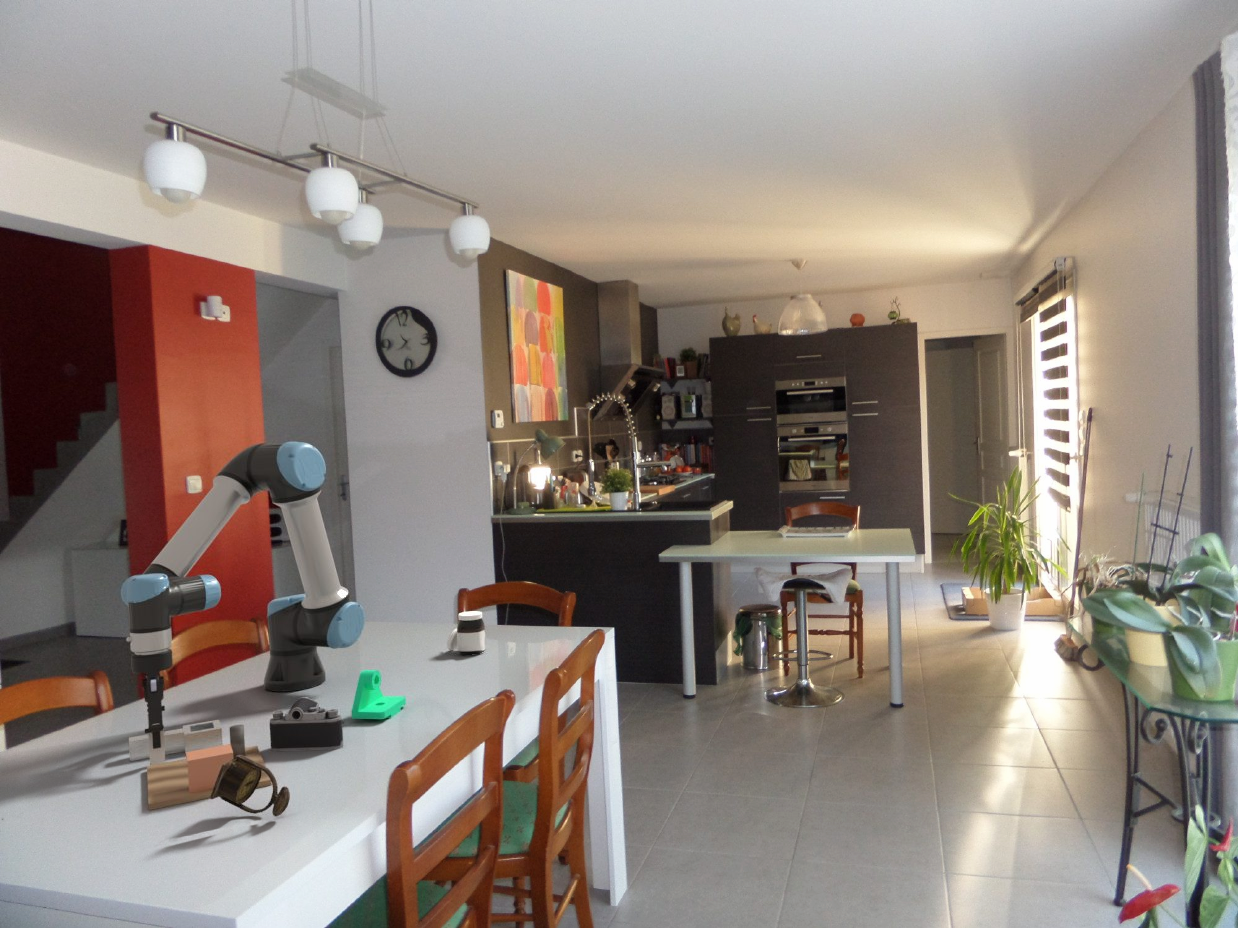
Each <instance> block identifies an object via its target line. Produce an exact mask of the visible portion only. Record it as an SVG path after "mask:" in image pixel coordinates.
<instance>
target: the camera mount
mask: <svg viewBox="0 0 1238 928" xmlns="http://www.w3.org/2000/svg"><path fill="white" fill-rule="evenodd" d="M381 682H382V674H381V672H380V671H379V670H377V669H376V670H375V669H363V670H361V671H360V673H359V677H358V681H357V684H356V685H357V686H356V690H355V693H354V694H355V695H354V699H353V704H352V709H351V719H358V720H359V719H361V720H364V719H365V720H383V719H392V718H394V717H395V716H396V715H397V714H399V713H401V711H402V710H401V709H402V708H403V707H404V706H405V705H406V704H407V699H406V698H407V697H406V696H395V695H394V696H393V695H391V696H389V695H383V692H382V690H381V687H380V686H381ZM394 715H395V716H394Z"/></svg>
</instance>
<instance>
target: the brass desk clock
mask: <svg viewBox="0 0 1238 928" xmlns="http://www.w3.org/2000/svg"><path fill="white" fill-rule="evenodd" d="M265 766H266V765H265ZM265 766H263V765H261V764H259V763H257V762H255V761H253V760H251V759H249V758H247V757H245V756H242V755H237V756H236V757H235V758H234V759H232V760H231V761H229V762H227V763H225V764H223V765H222V767H221V769H220V772H219V774H218V777H217V779H216V782H215V785H214V788H213V791H212V794H211V797H210V798H209V799H210V800H214V799H216V798H219V797H220V799H221V800H223V801H225V802H226V803H228V804H230V805H232V806H234V807H237V808H239V809H240V810H242V811H244V812H247V813H250V814H253V815H254V814H260V813H263V812H266V810H268V809H269V808H271V807H272V805H273V807H272V810H271V811H272V816H274V817H279V816H281V815H282V814H283V813H284V812H285V811H286V809H287V808H288V806H289V802H290V799H291V795H290V794H291V792H290V789H289V788H288V787H287V786H282V787H281V788H280V790H279V792H278V781H277V779H276V777H275V776H274V774H273V772H272V770H270V768H269V767H267V766H266V767H265ZM261 770H262V771H264V772H265V773H266V774H267V775H268V776H269V778H270V780H271V786H272V793H271V797H270V800H269V802H268V803H267V805H266V806H264V807H263V808H260V809H253V808H251V807H249V806H247V805H245V804H244V803H245V802H247V801H248V800H249V799H250V798H251V797H252V795H253V794H254V793H255V791H256V789H258V788H257V786H258V784H259V781H260V779H261V772H262V771H261Z"/></svg>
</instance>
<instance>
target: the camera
mask: <svg viewBox="0 0 1238 928" xmlns="http://www.w3.org/2000/svg"><path fill="white" fill-rule="evenodd" d="M319 704H320V703H319V702H318V701H315V700H314V699H311V698H310V697H307V696H301V697H299V698H298V699H297V700H295V701H294V702H293V703H292V705H291V707H290V709H289V710H287V711H286V712H285V713H284V710H275V711H273V712H272V718H270V719H269V735H270V736H269V737H270V738H269V739H270V741H269V742H270V748H271V749H270V750H271V751H273V752H283V751H284V752H289V751H290V752H291V751H292V752H295V751H297V752H298V751H330V750H331V751H332V750H339V749H341V748H343V747H344V734H343V725H344V724H345V719H342V715H341V714H339V710H338V709H336V708H332V709H329V708H322V707H321V706H320V705H319Z"/></svg>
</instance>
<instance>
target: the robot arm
mask: <svg viewBox="0 0 1238 928" xmlns="http://www.w3.org/2000/svg"><path fill="white" fill-rule="evenodd" d="M326 467H327V466H326V462H325V459H324V456H323V454H322V453H321V452H320V451H319V450H318V449H317V447H315V446H314V445H312V444H310V443H307V442H302V441H301V442H299V441H282V442H272V443H271V442H270V443H268V442H267V443H265V442H263V443H255V444H252V445H250V446H248V447H246V448H244V449H243V450H242V451H240V452H238V453H237V454H236V455H235V456H233V458H231V459H230V460H229V461H228V462H227V463H226V464H225V465H224V466H223V467H222V468H221V470H220V471H219V472H218V473H217V474H216V476H215V477H214V478H213V479H212V484H213V486H212V488H211V489H210V490H209V491H208V493H207V494H206V495H205V496H204V497H203V498H202V500H201V501H200V503H198V505H197V506H196V508H194V510H193V511H192V512H191V513H190V515H189V516H188V517H187V519H185V521H184V522H183V523H182V525H181V526H180V527H179V529H178V530H177V531H176V533H174V535H173V536H172V537H171V539H169V541H168V543H166V544H165V546H164V547H163V548H162V549H161V550H160V552H159V553H158V555H157V556H156V557H155V558H154V560H152V562H151V563H150V564H149V566H148V567H147V568H146V569H145V570H144V572H143V573H142V574H135V575H132V576H130V577H128V578H127V579H125V581H123V584H122V585H121V588H120V597H121V600H122V602H123V603H124V604H125V605H126V606H127V613H128V624H129V625H128V626H129V636H128V637H126V642H128V643H129V642H130V651H131V652H132V654H131V655H130V666H131V667H130V668H131V671H132V673H134V674H139V675H140V674H145V678H142V679H141V681H142V685H141V686H142V691H143V693H144V702H145V703H147V704H146V707H147V710H146V712H147V713H148V714H147V728H144V735H147V734H148V736H149V754H150V758H149V766H150V765H155V764H161V763H166V755H165V746H164V727H165V726H164V722H163V721H164V720H163V712H165V711H166V709H165V708H166V707H165V705H162V701H163V700H164V688H165V677H164V675H161V676H160V672H162V671H168V670H169V669H171V668H172V667H173V664H174V663H173V649H171V647H172V646H173V638H172V637H173V636H172V626H171V623H172V622H171V620H172V619H171V618H173V617H176V616H177V617H178V616H181V615H187V614H192V613H195V612H196V613H197V612H204V611H206V610H208V609H213V608H214V607H216V606H217V605H218V604H219V602H220V600H221V596H222V591H221V589H222V588H221V587H222V586H221V584H220V582H219V581H218V580H217V578H216V577H215V576H213V575H210V574H197V575H194V576H187V575H188V574H189V572H190V571H191V570H192V569H193V567H194V566H195V565H196V564H197V562H198V561H199V560H200V558H201V557H202V556H203V554H205V552H206V551H207V549H208V548H209V547H210V546H211V544H212V543H213V541H214V540H215V539H216V537H217V536H218V535H219V533H220V532H221V531H222V529H224V527H225V526H226V525H227V524H228V522H229V521H230V519H231V518H232V517H233V515H234V514H235V513H236V512H237V510H238V509H239V508H240V506H241V505H245V504H247V503H249V502H250V500H251V499H252V498H253V497H254V496H255V495H257V494H259V493H261V492H264V491H265V492H267V491H269V494H270V495H269V496H270V498H271V501H272V504H274V505H276V506H278V507H279V508H280V509H281V513H282V516H283V519H284V523H285V526H286V530H287V533H288V537H289V540H290V544H291V548H292V552H293V555H294V558H295V562H296V565H297V569H298V573H299V576H300V580H301V584H302V587H303V590H304V593H301V594H293V595H288V596H284V597H279V598H275V599H272V600H271V601H269V602H268V604H267V615H266V618H267V619H266V620H267V631H268V643H269V644H268V645H269V646H268V647H269V659H268V664H267V667H266V671H265V674H264V680H263V682H264V683H263V684H264V689H265V690H267V691H271V692H293V691H297V690H298V691H301V690H306V689H309V688H313V687H317V686H319V685H321V684H323V683H325V682H326V679H327V678H326V670H325V668H324V666H323V662H322V660H321V658H320V656H319V655H320V654H319V653H318V647H319V648H329V649H334V650H335V649H347V648H349V647H352V646H353V645H354V644H356V642H357V641H358V639H360V637H361V635H362V633H363V630H364V629H365V623H366V617H365V616H366V615H365V612H364V611H365V609H364V608H363V606H362V605H361V604H359V603H358V602H356V601H352V600H351V597H350V593H349V590H348V588H346V587H344V586H342V585H341V583H340V580H339V575H338V572H337V569H336V565H335V559H334V557H333V554H332V550H331V546H330V542H329V538H328V534H327V531H326V528H325V523H324V519H323V516H322V511H321V509H320V504H319V502H318V497H319V496H320V494H321V492H322V487H321V486H322V485H323V483H324V482H325V479H326V477H325V475H326V473H327V469H326Z"/></svg>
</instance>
